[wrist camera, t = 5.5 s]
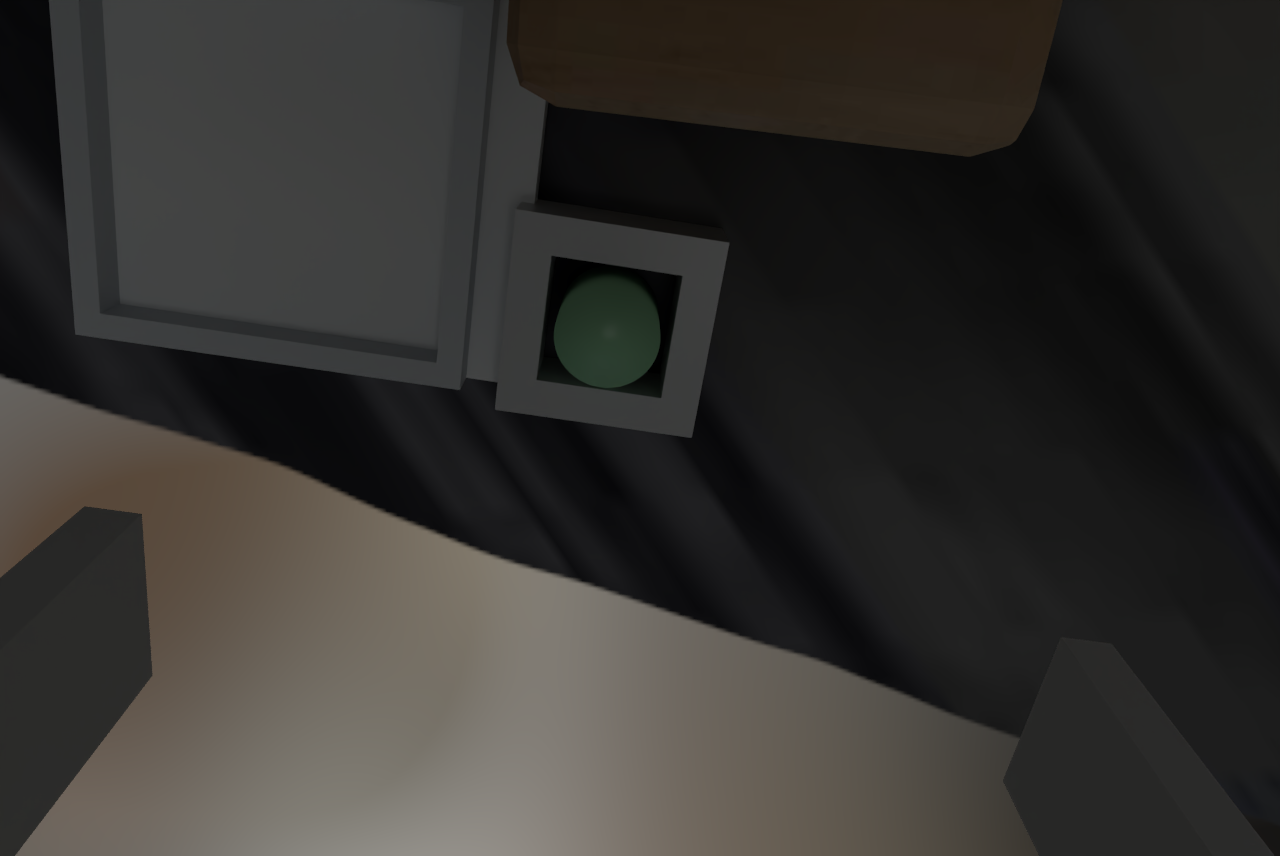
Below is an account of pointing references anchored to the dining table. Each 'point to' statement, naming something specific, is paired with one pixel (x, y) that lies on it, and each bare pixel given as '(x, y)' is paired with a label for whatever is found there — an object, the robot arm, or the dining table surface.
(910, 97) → the wooden block
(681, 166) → the dining table surface
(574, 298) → the button
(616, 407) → the button housing
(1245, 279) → the dining table surface
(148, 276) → the shallow gray rectangular tray
